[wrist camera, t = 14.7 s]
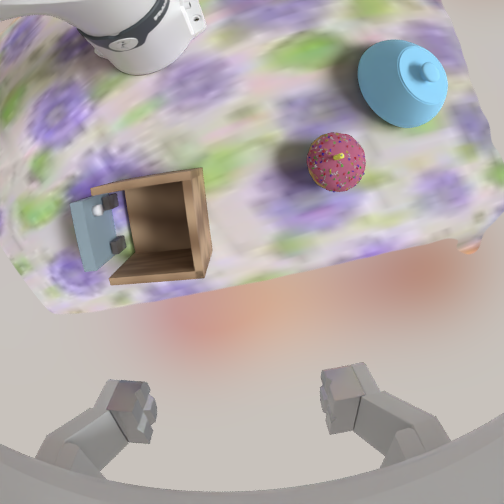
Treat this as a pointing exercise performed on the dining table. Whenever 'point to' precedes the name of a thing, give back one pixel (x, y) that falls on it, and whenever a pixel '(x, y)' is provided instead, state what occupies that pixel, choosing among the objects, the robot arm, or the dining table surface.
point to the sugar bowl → (402, 82)
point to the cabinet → (162, 226)
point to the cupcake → (336, 161)
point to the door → (93, 231)
